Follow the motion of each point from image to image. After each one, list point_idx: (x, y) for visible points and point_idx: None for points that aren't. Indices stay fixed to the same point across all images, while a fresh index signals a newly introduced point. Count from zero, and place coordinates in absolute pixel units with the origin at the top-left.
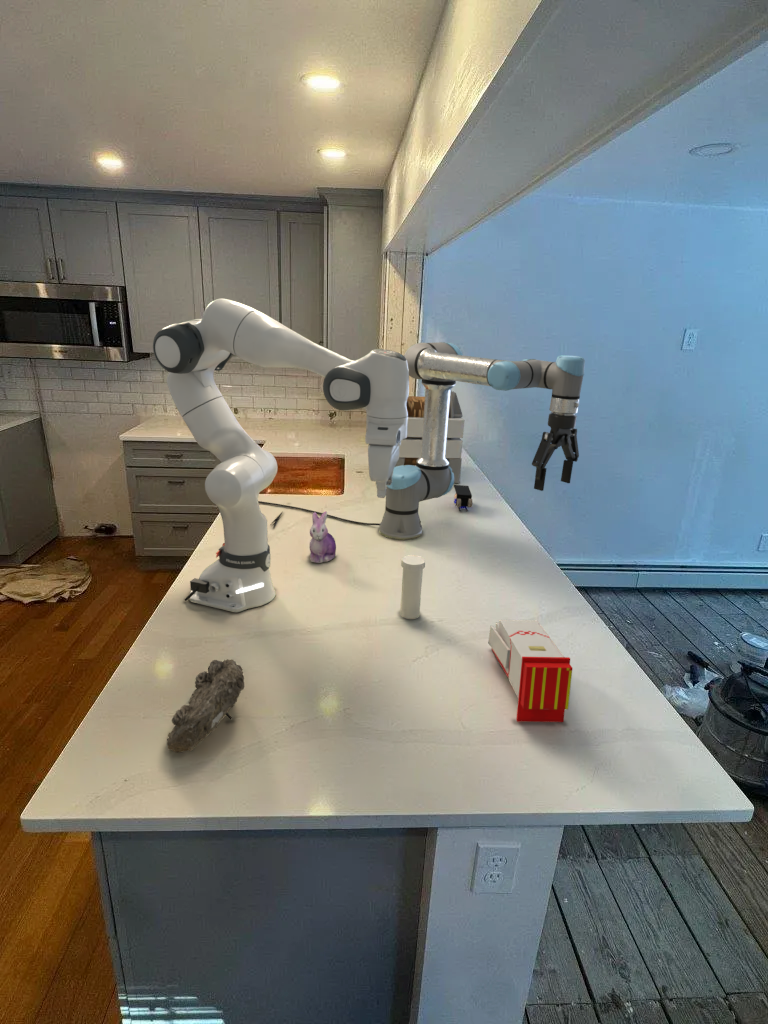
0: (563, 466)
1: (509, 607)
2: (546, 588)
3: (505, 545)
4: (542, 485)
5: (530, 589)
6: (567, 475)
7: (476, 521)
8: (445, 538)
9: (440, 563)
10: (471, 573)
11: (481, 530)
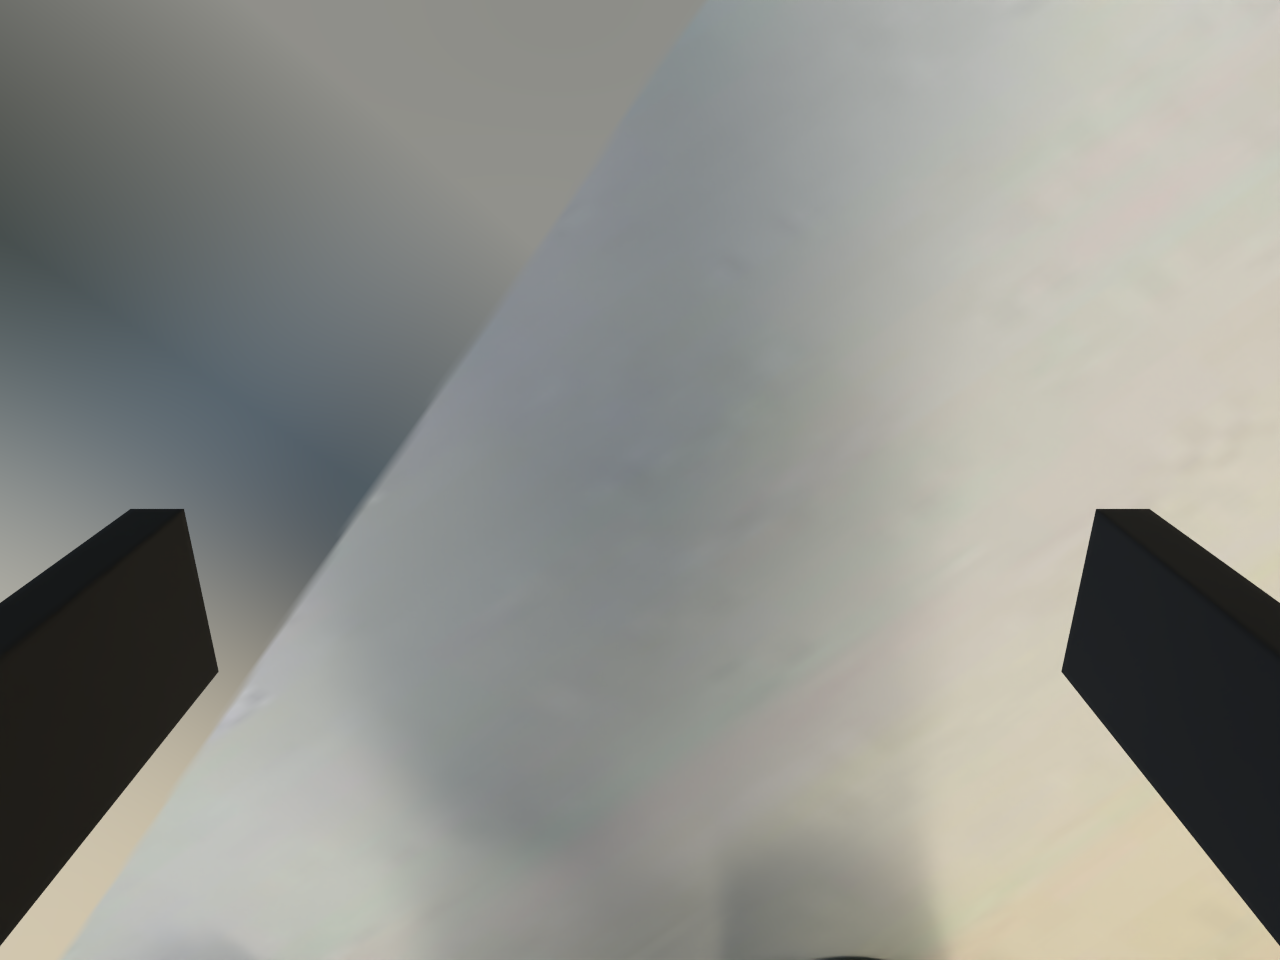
0: (6, 916)
1: (1249, 90)
2: (815, 103)
3: (479, 660)
4: (1218, 565)
5: (914, 165)
6: (104, 640)
7: (349, 949)
8: (706, 889)
9: (1012, 705)
10: (994, 529)
11: (429, 860)
